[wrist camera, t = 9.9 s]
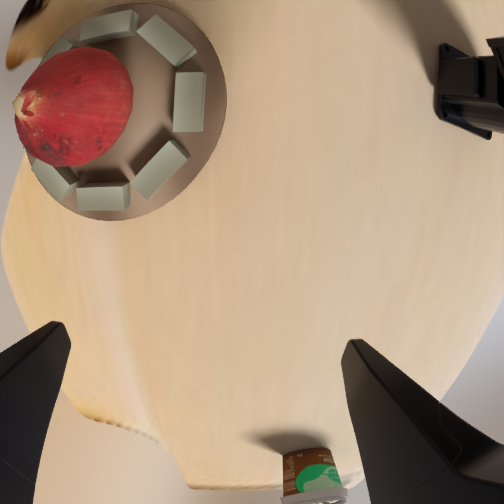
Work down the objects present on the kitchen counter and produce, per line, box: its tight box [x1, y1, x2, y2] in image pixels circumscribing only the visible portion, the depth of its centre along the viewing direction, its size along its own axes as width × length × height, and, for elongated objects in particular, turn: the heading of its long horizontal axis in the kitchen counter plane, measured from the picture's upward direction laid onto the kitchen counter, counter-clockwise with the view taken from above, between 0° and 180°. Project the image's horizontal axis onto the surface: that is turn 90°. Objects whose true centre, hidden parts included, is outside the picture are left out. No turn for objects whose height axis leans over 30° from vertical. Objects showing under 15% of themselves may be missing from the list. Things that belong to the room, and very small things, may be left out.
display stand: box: [23, 3, 227, 221], centre depth 14 cm, size 14×14×3 cm
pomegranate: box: [13, 47, 134, 167], centre depth 10 cm, size 6×6×8 cm
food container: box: [280, 448, 348, 504], centre depth 32 cm, size 12×6×10 cm, turn 51°
